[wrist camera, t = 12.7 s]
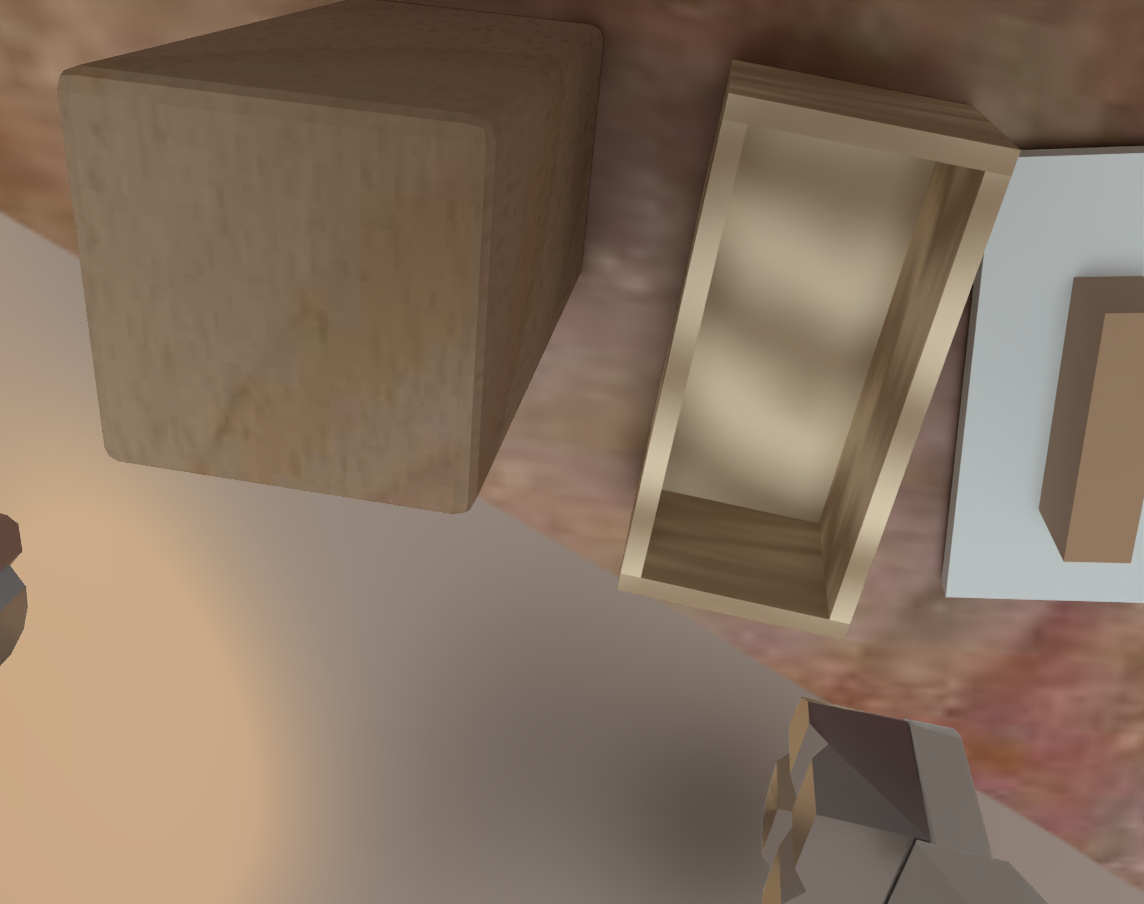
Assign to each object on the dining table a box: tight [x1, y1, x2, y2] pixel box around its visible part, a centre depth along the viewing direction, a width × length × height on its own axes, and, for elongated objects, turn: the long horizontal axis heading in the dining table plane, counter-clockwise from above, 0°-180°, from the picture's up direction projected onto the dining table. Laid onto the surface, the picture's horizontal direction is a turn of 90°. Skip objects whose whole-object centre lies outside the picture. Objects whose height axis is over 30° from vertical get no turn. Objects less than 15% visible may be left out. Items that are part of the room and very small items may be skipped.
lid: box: [941, 146, 1144, 603], centre depth 41 cm, size 19×9×6 cm, turn 4°
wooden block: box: [57, 0, 604, 514], centre depth 34 cm, size 10×10×20 cm
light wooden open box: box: [617, 59, 1021, 640], centre depth 40 cm, size 19×9×8 cm, turn 171°
